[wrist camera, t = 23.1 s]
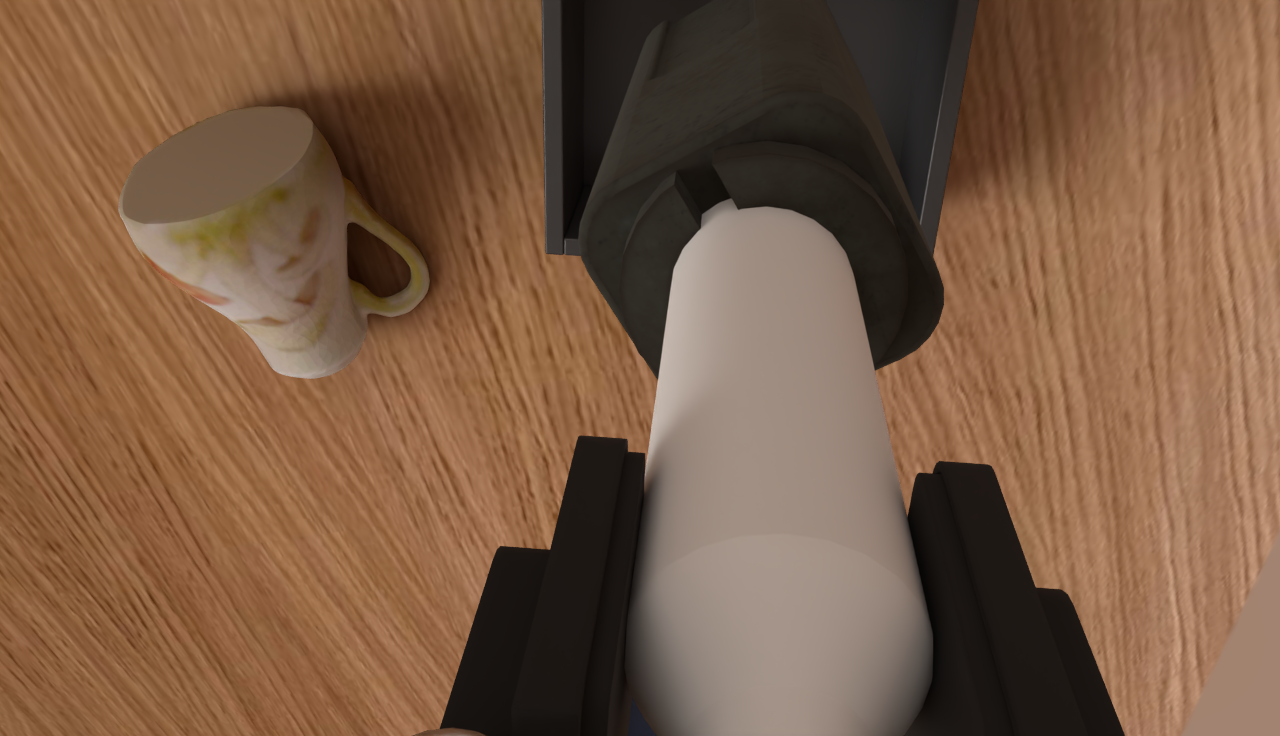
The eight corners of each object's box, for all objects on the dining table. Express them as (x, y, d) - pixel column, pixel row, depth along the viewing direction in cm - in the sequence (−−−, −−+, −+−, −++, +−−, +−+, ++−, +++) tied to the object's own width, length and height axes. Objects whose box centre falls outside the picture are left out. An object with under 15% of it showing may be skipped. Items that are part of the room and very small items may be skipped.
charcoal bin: (967, -165, 32) (1007, -153, 28) (906, 214, 38) (929, 278, 34) (567, -180, 33) (538, -171, 28) (568, 194, 39) (544, 254, 34)
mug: (278, 370, 44) (74, 384, 35) (280, 132, 43) (72, 81, 34) (436, 379, 41) (261, 397, 32) (440, 126, 41) (263, 70, 32)
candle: (715, 202, 30) (650, 1280, 9) (624, 43, 28) (247, 926, 7) (881, 116, 29) (1306, 1173, 7) (796, -58, 27) (1027, 667, 5)
